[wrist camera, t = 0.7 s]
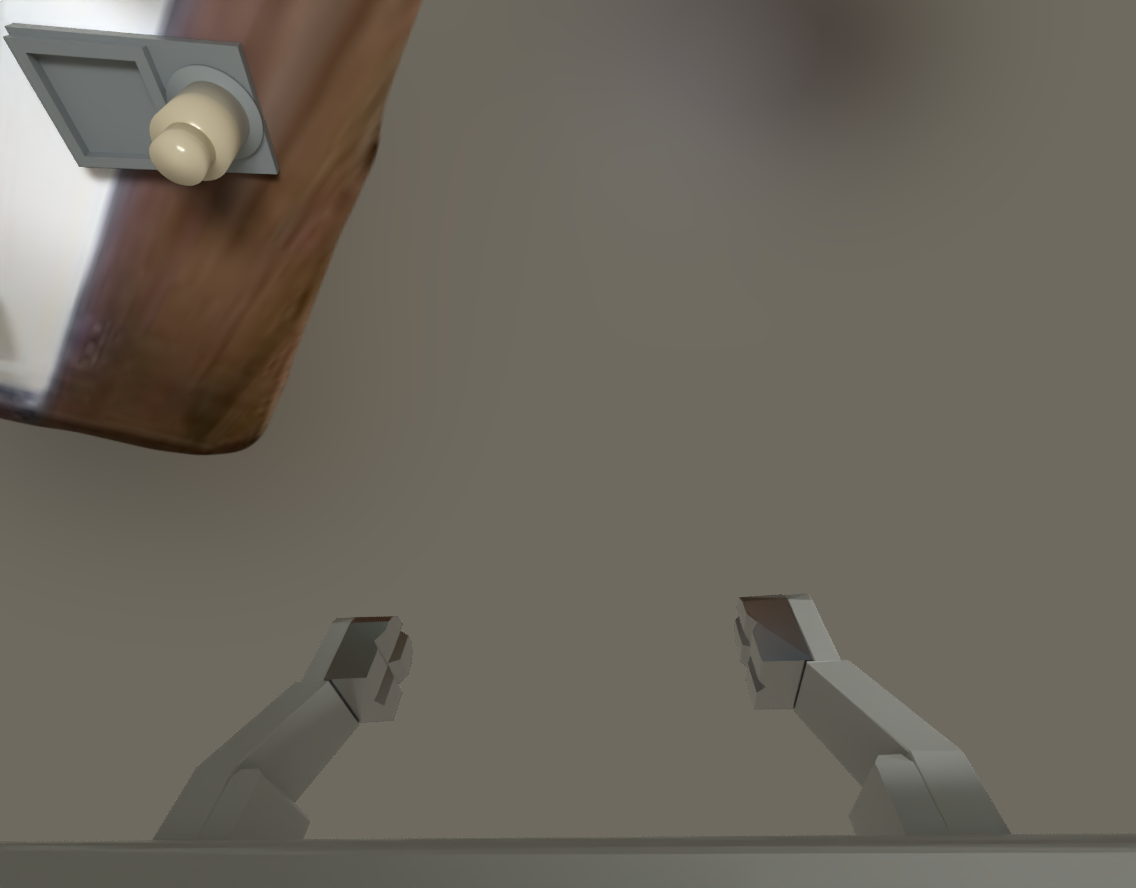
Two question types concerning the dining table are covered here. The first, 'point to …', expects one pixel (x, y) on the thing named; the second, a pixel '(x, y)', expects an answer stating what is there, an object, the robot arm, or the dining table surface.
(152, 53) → the cruet stand
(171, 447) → the dining table surface
